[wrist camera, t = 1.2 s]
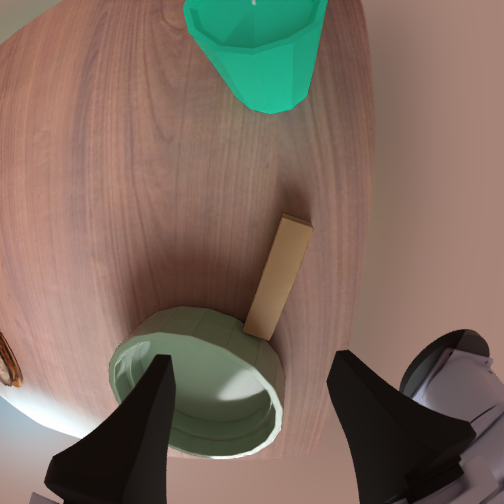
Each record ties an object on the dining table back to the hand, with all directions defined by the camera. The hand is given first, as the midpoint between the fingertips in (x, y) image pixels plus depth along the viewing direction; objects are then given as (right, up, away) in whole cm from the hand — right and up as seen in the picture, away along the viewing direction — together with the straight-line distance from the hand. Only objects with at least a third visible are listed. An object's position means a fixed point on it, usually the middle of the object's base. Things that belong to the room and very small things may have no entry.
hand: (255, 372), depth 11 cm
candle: (+1, +18, +7) cm, 19 cm away
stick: (+2, +4, +10) cm, 11 cm away
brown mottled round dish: (-47, -13, +21) cm, 53 cm away
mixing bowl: (-5, -6, +13) cm, 16 cm away
